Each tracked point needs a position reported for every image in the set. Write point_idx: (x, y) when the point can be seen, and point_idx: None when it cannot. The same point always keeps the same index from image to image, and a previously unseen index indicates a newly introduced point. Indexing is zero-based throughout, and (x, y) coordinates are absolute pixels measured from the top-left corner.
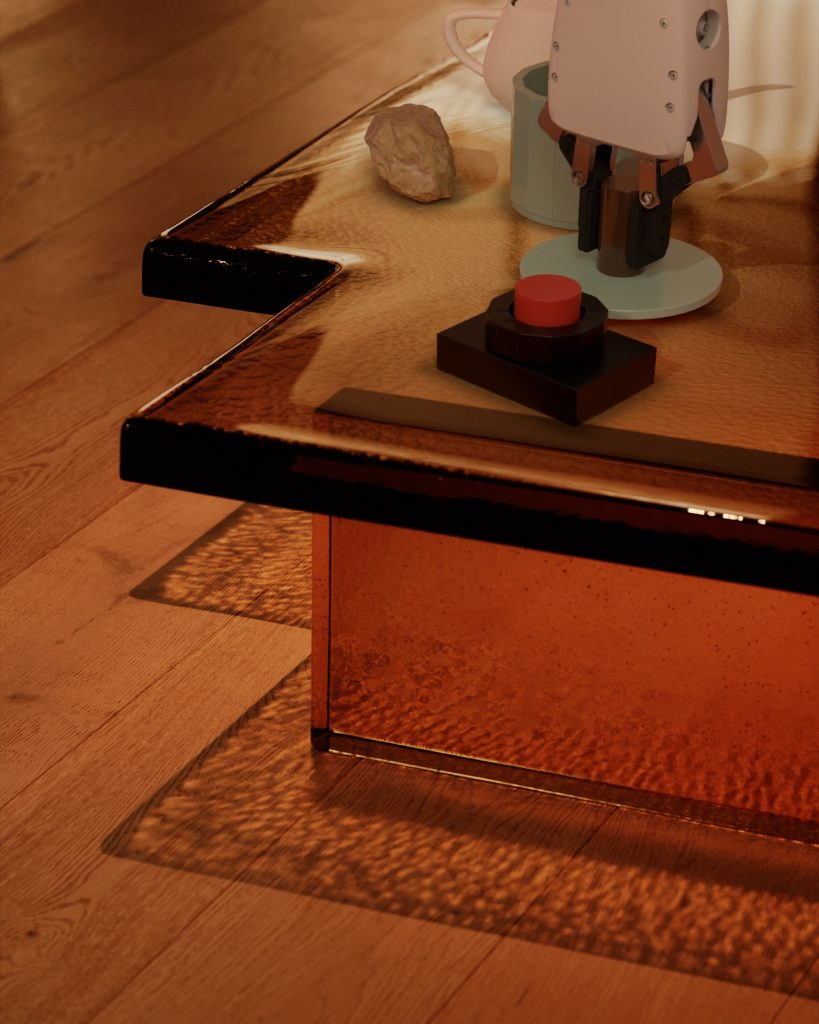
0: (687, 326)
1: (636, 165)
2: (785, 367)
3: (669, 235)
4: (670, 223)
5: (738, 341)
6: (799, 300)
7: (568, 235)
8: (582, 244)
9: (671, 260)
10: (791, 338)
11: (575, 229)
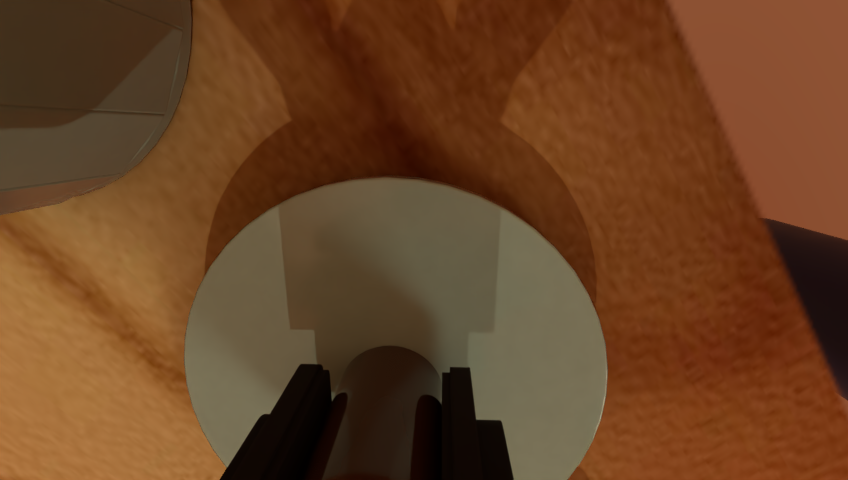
0: None
1: (25, 44)
2: (798, 418)
3: (505, 442)
4: (511, 470)
5: (683, 388)
6: (707, 158)
7: (192, 328)
8: None
9: (444, 290)
10: (764, 321)
11: (115, 179)
